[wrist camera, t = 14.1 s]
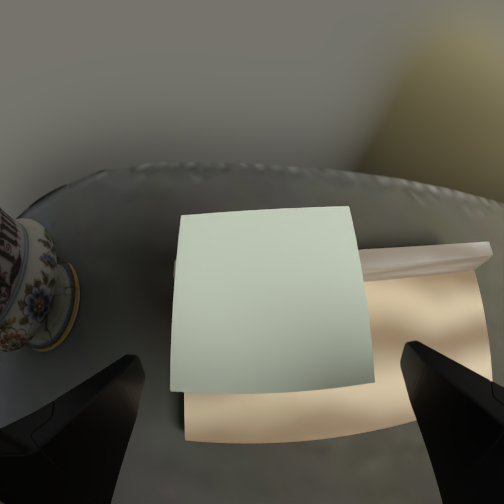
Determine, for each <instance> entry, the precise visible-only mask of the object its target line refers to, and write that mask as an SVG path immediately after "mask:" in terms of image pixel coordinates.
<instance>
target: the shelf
mask: <svg viewBox="0 0 504 504" xmlns="http://www.w3.org/2000/svg"><path fill="white" fill-rule="evenodd" d="M358 252H359V257H360V263H361V268H362V274H363V280H364V286H365V293H366V300H367V307H368V314H369V322H370V331H371V340H372V350H373V362H374V375H375V382H374V383H368V384H362V385H355V386H348V387H340V388H332V389H323V390H313V391H301V392H286V393H263V394H212V393H190V392H184V418H185V440H188V441H199V442H215V443H279V442H295V441H307V440H317V439H325V438H333V437H340V436H346V435H353V434H358V433H364V432H369V431H374V430H378V429H383V428H387V427H392V426H396V425H400V424H404V423H407V422H411V421H415V420H416V417H415V414H414V412H413V409H412V406H411V403H410V400H409V397H408V393H407V389H406V385H405V381H404V378H403V374H402V371H401V367H400V360H401V356H402V352H403V349H404V345H405V343H406V342H409V341H414V340H417V341H419V342H421V343H423V344H425V345H426V346H428V347H430V348H432V349H434V350H436V351H437V352H439V353H441V354H443V355H445V356H447V357H448V358H450V359H452V360H454V361H456V362H458V363H459V364H461V365H463V366H465V367H467V368H469V369H471V370H472V371H474V372H476V373H478V374H480V375H482V376H483V377H485V378H487V379H489V380H490V382H491V381H492V368H491V357H490V348H489V340H488V333H487V326H486V321H485V315H484V310H483V305H482V300H481V295H480V291H479V286H478V282H477V278H476V274H475V271H474V270H475V269H476V268H478V267H479V266H480V265H481V264H483V263H484V262H485V261H487V260H488V259H489V258H490V257H492V256H493V253H492V250H491V247H490V244H489V242H476V243H460V244H445V245H429V246H412V247H396V248H380V249H363V250H358ZM175 271H176V260H175V263H174V274H173V278H174V279H175Z"/></svg>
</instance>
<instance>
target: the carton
mask: <svg viewBox="0 0 504 504" xmlns="http://www.w3.org/2000/svg"><path fill="white" fill-rule="evenodd" d="M374 382H375V375H374V362H373V350H372V340H371V331H370V322H369V314H368V307H367V300H366V293H365V286H364V280H363V274H362V268H361V263H360V257H359V252H358V247H357V241H356V236H355V232H354V227H353V222H352V218H351V213H350V209H349V206H340V207H310V208H287V209H268V210H250V211H235V212H220V213H207V214H194V215H182V216H181V221H180V230H179V239H178V249H177V259H176V271H175V283H174V297H173V313H172V333H171V363H170V391H175V392H190V393H212V394H263V393H286V392H301V391H313V390H323V389H332V388H340V387H348V386H355V385H362V384H368V383H374Z"/></svg>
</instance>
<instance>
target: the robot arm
mask: <svg viewBox="0 0 504 504" xmlns="http://www.w3.org/2000/svg"><path fill="white" fill-rule="evenodd" d="M400 367H401V371H402V374H403V378H404V381H405V385H406V389H407V393H408V397H409V400H410V403H411V406H412V409H413V412H414V414H415V417H416V420H417V422H418V425H419V428H420V431H421V433H422V436H423V439H424V442H425V445H426V448H427V451H428V454H429V457H430V460H431V464H432V467H433V470H434V473H435V477H436V480H437V484H438V487H439V491H440V495H441V498H442V503H443V504H504V387H502V386H500V385H498V384H496V383H494V382H493V381H491V382H490V380H489V379H487V378H485V377H483V376H482V375H480V374H478V373H476V372H474V371H472V370H471V369H469V368H467V367H465V366H463V365H461V364H459V363H458V362H456V361H454V360H452V359H450V358H448V357H447V356H445V355H443V354H441V353H439V352H437V351H436V350H434V349H432V348H430V347H428V346H426V345H425V344H423V343H421V342H419V341H417V340H414V341H409V342H406V343H405V345H404V349H403V352H402V356H401V360H400ZM144 382H145V372H144V369H143V367H142V364H141V361H140V359H139V357H138V356H137V355H129V354H128V355H125V356H123V357H122V358H120V359H119V360H117V361H116V362H114V363H112V364H111V365H109V366H108V367H106V368H105V369H103V370H102V371H100V372H98V373H97V374H95V375H94V376H92V377H91V378H89V379H87V380H86V381H84V382H83V383H81V384H79V385H78V386H76V387H75V388H73V389H71V390H70V391H68V392H67V393H65V394H63V395H62V396H60V397H59V398H57V399H55V401H52V402H51V403H49V404H47V405H46V406H44V407H42V408H41V409H39V410H37V411H35V412H33V413H32V414H30V415H28V416H26V417H24V418H22V419H20V420H18V421H15V422H13V423H11V424H9V425H7V426H5V427H3V428H0V504H111V500H112V497H113V493H114V489H115V486H116V482H117V479H118V475H119V472H120V469H121V465H122V462H123V458H124V455H125V452H126V449H127V445H128V442H129V439H130V436H131V433H132V430H133V427H134V424H135V421H136V417H137V414H138V410H139V405H140V400H141V395H142V391H143V386H144Z"/></svg>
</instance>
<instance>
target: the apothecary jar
mask: <svg viewBox="0 0 504 504" xmlns="http://www.w3.org/2000/svg"><path fill="white" fill-rule="evenodd" d="M79 303H80V285H79V280H78V276H77V274H76V271H75V270H74V268H73V266H72V265H71V264H70V263H69V262H67V263H64V262H60V261H59V258H58V257H56V253H55V248H54V245H53V242H52V240H51V238H50V236H49V234H48V232H47V231H46V229H45V228H44V227H43V226H42V225H41V224H39V223H38V222H36V221H34V220H32V219H27V218H21V219H15V220H13V219H12V218H11V217H10V216H9V215H7V214H6V213H5V212H4V211H3V210H2V209H1V208H0V351H1V352H9V351H14V350H17V349H19V348H21V347H22V346H24V345H25V344H26V345H27V346H29V347H30V348H32V349H33V350H36V351H49V350H52V349H54V348H55V347H57V346H58V345H60V344H61V343H62V342H63V341H64V340H65V338H66V337H67V336H68V334H69V332H70V331H71V329H72V327H73V325H74V322H75V320H76V317H77V313H78V309H79Z"/></svg>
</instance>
